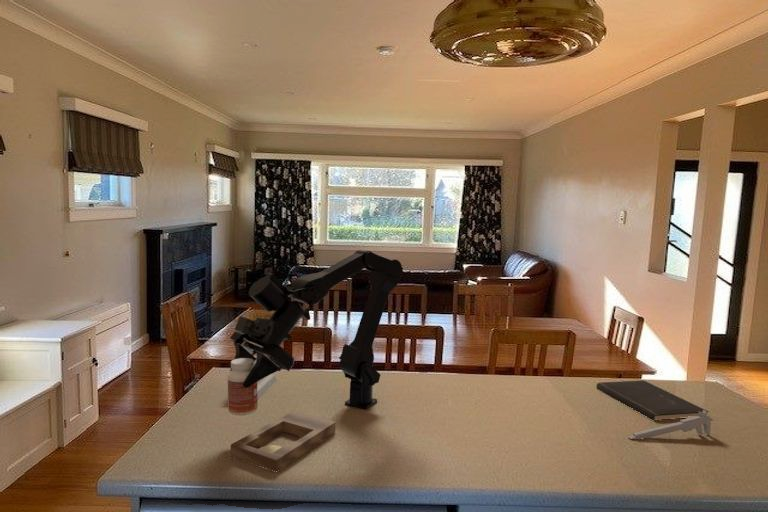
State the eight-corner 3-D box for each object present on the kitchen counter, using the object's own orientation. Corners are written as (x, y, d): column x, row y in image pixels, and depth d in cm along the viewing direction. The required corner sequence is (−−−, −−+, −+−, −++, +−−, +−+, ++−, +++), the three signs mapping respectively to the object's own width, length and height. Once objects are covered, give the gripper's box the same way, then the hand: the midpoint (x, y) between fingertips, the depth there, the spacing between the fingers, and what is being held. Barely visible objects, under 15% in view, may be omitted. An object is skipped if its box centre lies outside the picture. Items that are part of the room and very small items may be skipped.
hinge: (256, 401, 129) (243, 365, 128) (239, 406, 130) (227, 370, 129) (277, 380, 145) (266, 348, 145) (262, 384, 146) (251, 352, 146)
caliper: (706, 435, 116) (708, 409, 116) (709, 437, 115) (712, 411, 115) (627, 439, 113) (629, 412, 113) (630, 441, 112) (632, 414, 112)
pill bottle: (260, 413, 106) (260, 363, 104) (231, 418, 103) (230, 367, 102) (254, 402, 111) (253, 355, 110) (225, 407, 108) (224, 358, 107)
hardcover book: (643, 387, 149) (643, 380, 148) (707, 419, 126) (708, 411, 126) (596, 390, 145) (596, 382, 145) (653, 423, 123) (653, 414, 123)
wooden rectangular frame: (293, 420, 118) (293, 410, 117) (335, 432, 112) (335, 422, 112) (230, 456, 100) (230, 444, 100) (276, 472, 94) (276, 460, 94)
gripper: (237, 296, 114) (191, 352, 107) (281, 309, 101) (232, 373, 94) (267, 324, 120) (225, 378, 114) (313, 339, 107) (268, 402, 100)
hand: (236, 382), depth 105 cm, fingers closed on pill bottle, 6 cm apart
